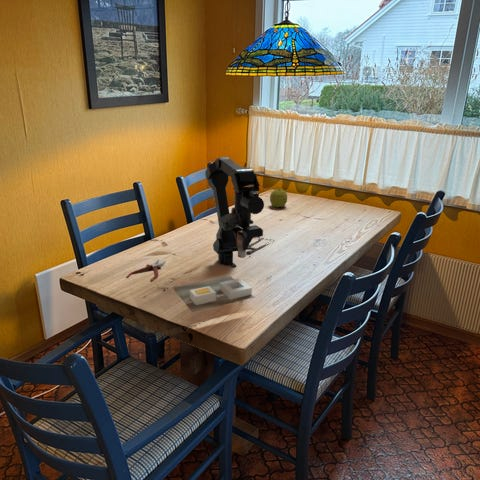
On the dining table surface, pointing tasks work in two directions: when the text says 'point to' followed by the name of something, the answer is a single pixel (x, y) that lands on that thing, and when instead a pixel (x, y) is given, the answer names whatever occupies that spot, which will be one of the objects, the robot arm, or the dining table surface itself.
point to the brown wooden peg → (240, 246)
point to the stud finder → (202, 295)
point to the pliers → (149, 269)
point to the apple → (278, 198)
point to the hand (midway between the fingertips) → (241, 248)
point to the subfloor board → (215, 285)
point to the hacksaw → (255, 248)
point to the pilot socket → (235, 288)
